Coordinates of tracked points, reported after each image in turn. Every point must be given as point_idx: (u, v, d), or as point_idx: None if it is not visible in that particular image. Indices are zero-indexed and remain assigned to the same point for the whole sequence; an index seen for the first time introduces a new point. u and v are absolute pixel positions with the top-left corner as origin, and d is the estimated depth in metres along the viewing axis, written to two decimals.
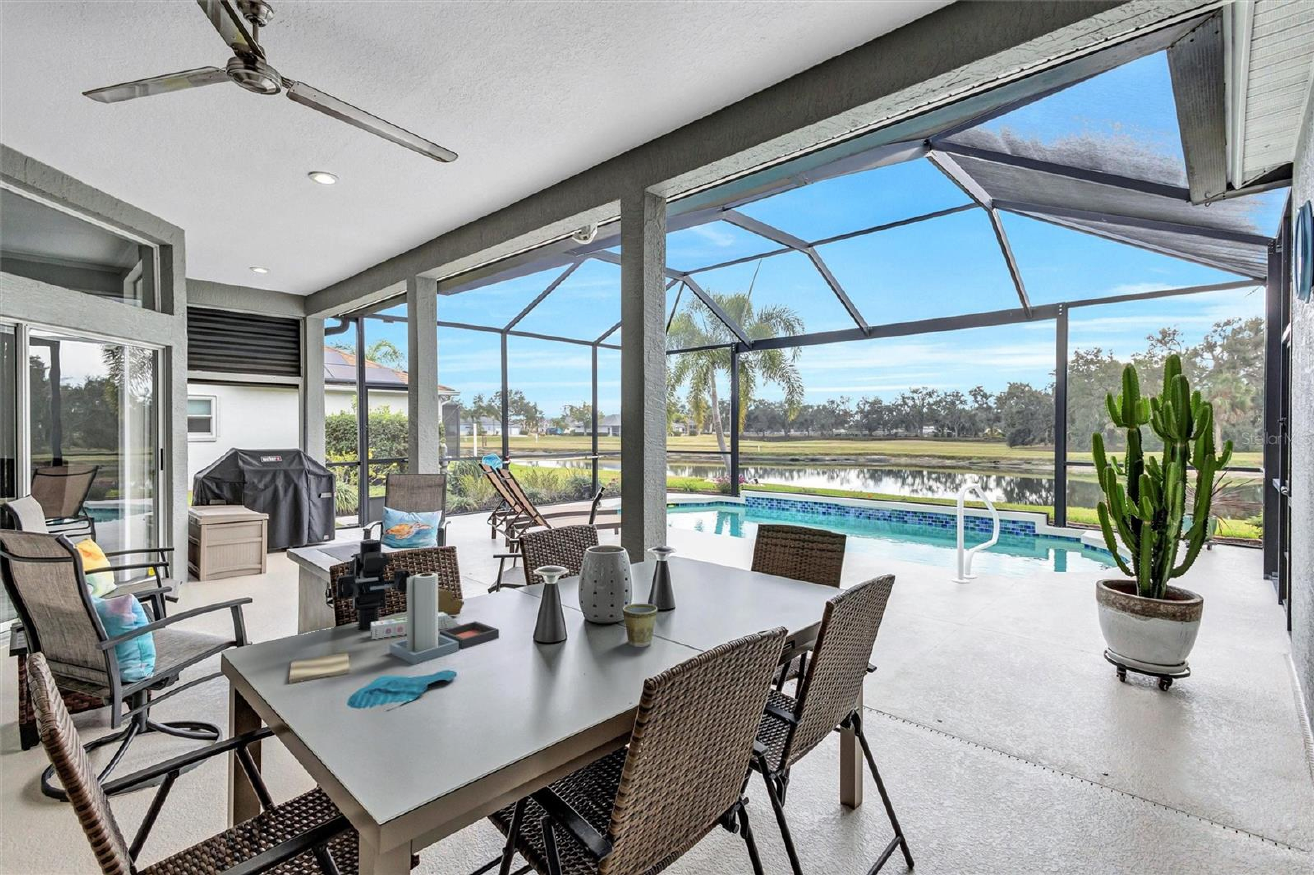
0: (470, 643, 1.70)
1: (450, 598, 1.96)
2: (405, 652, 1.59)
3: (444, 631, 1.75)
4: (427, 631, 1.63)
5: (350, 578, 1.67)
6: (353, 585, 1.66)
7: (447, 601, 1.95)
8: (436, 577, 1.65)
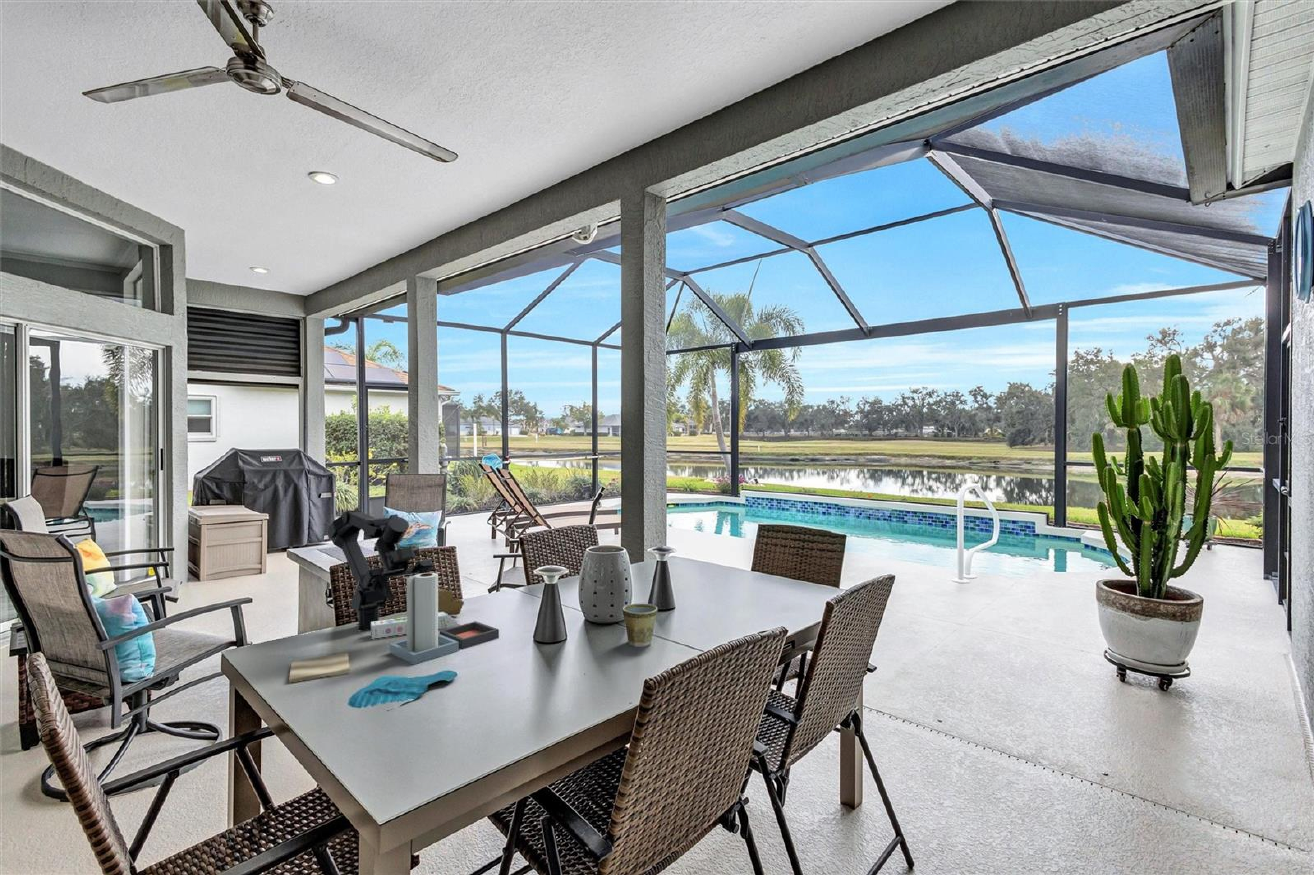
0: (470, 643, 1.70)
1: (450, 598, 1.96)
2: (405, 652, 1.59)
3: (444, 631, 1.75)
4: (427, 631, 1.63)
5: (382, 576, 1.68)
6: (386, 585, 1.68)
7: (447, 601, 1.95)
8: (436, 577, 1.65)
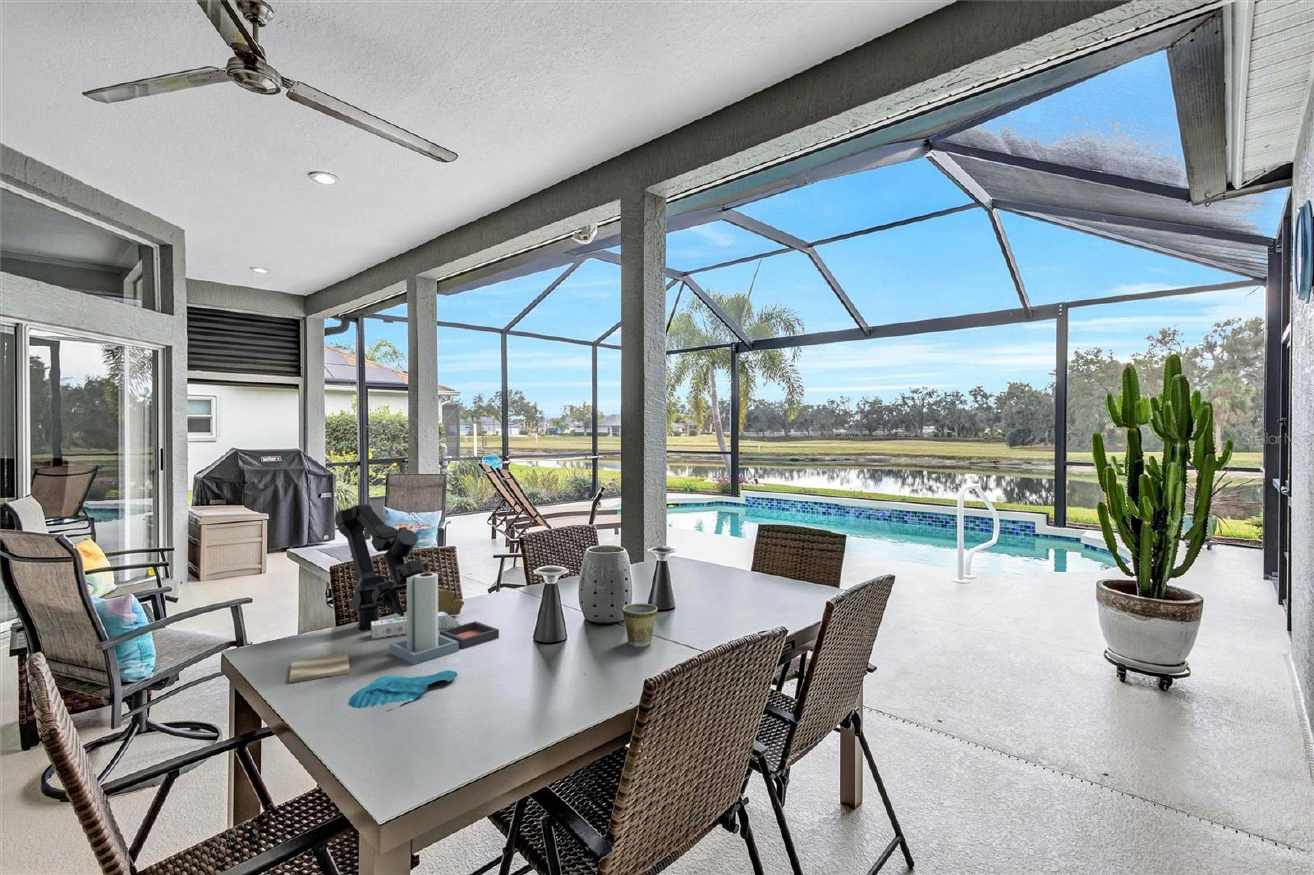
0: (470, 643, 1.70)
1: (450, 598, 1.96)
2: (405, 652, 1.59)
3: (444, 631, 1.75)
4: (427, 631, 1.63)
5: (392, 590, 1.64)
6: (395, 600, 1.65)
7: (447, 601, 1.95)
8: (436, 577, 1.65)
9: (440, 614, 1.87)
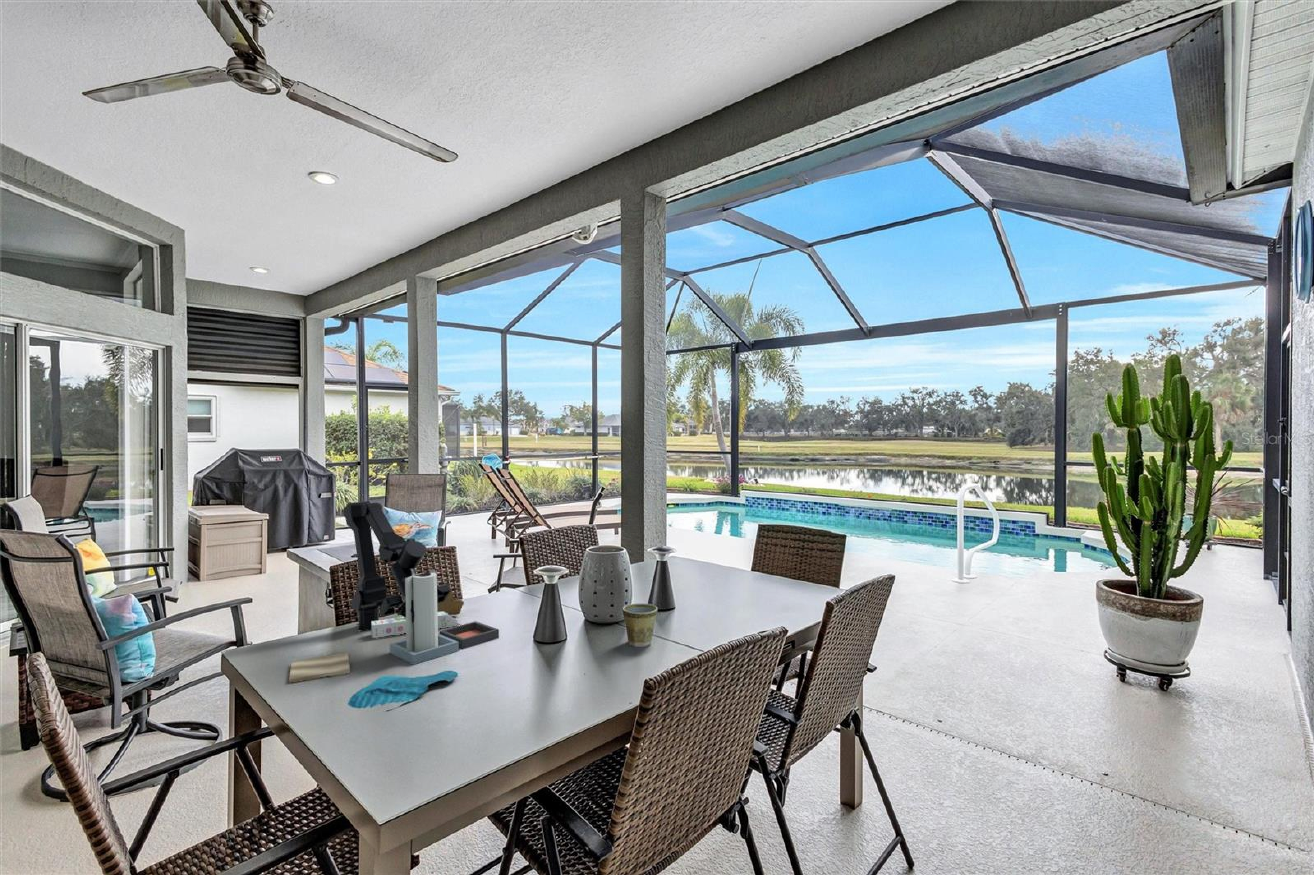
0: (470, 643, 1.70)
1: (450, 598, 1.96)
2: (405, 652, 1.59)
3: (444, 631, 1.75)
4: (427, 631, 1.63)
5: None
6: (413, 611, 1.64)
7: (447, 601, 1.95)
8: (435, 577, 1.65)
9: (440, 614, 1.87)
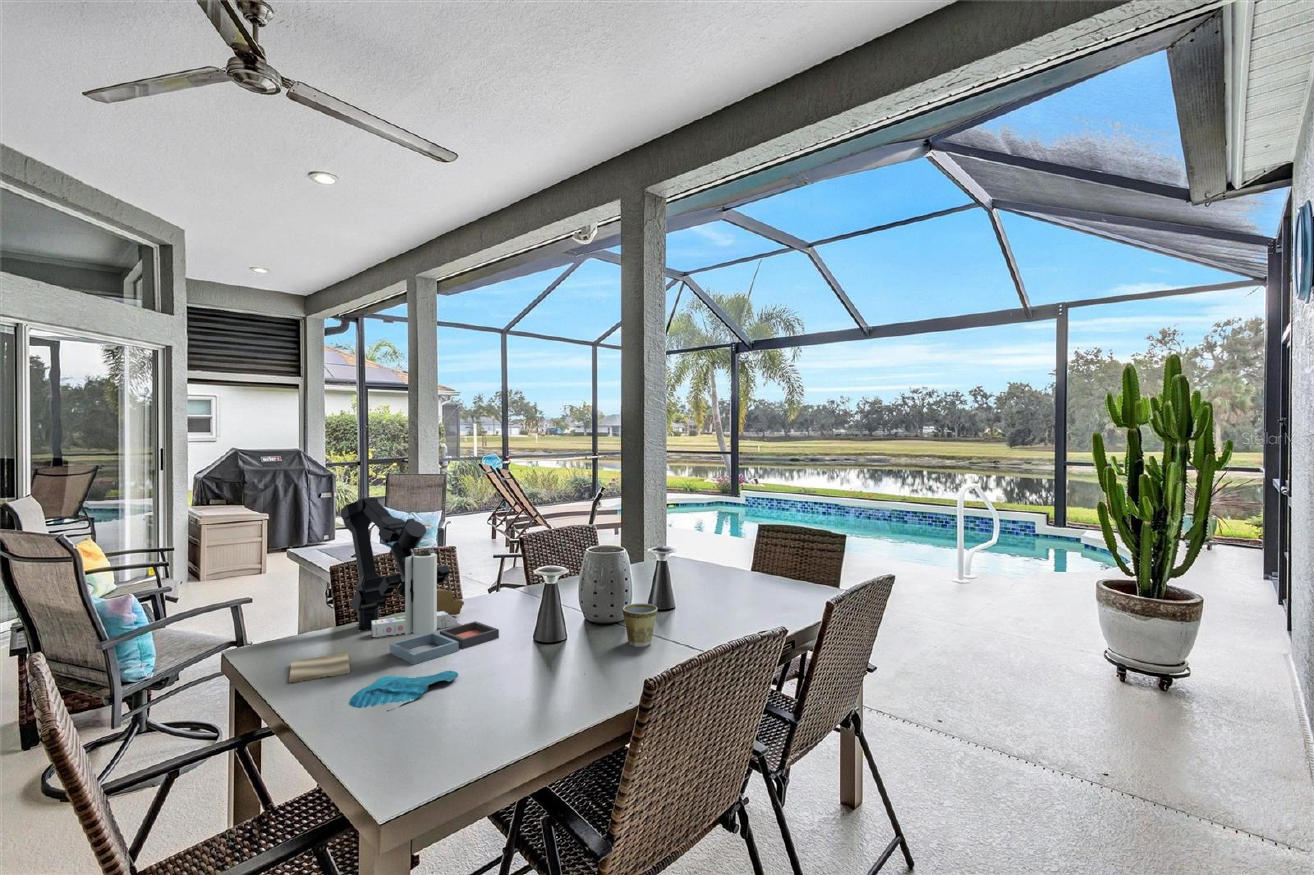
0: (470, 643, 1.70)
1: (450, 598, 1.96)
2: (405, 652, 1.59)
3: (444, 631, 1.75)
4: (426, 611, 1.63)
5: None
6: None
7: (447, 601, 1.95)
8: (435, 557, 1.65)
9: (440, 613, 1.88)
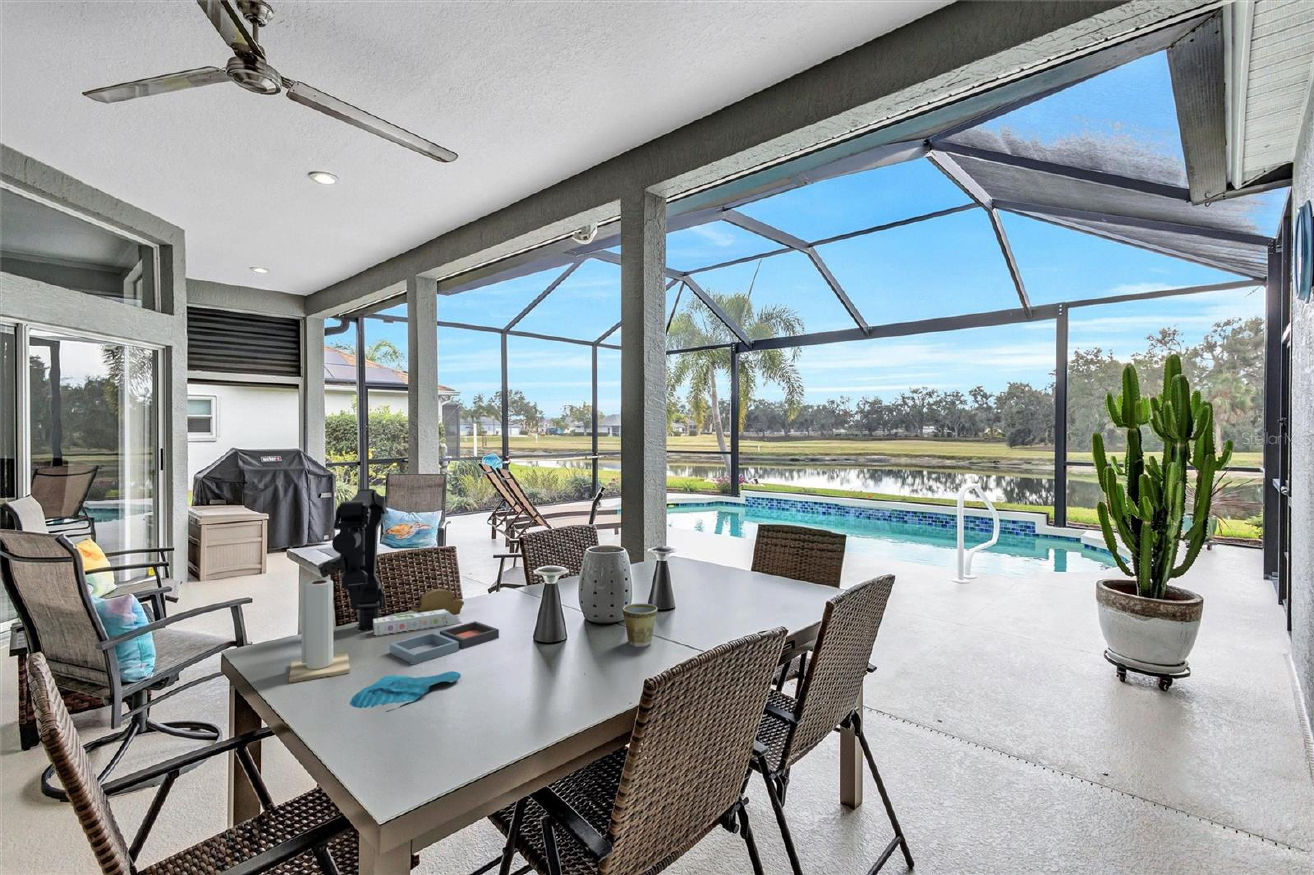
0: (470, 643, 1.70)
1: (450, 598, 1.96)
2: (405, 652, 1.59)
3: (444, 631, 1.75)
4: (309, 644, 1.50)
5: None
6: None
7: (447, 601, 1.95)
8: (321, 587, 1.51)
9: (441, 611, 1.90)
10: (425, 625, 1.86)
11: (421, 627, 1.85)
